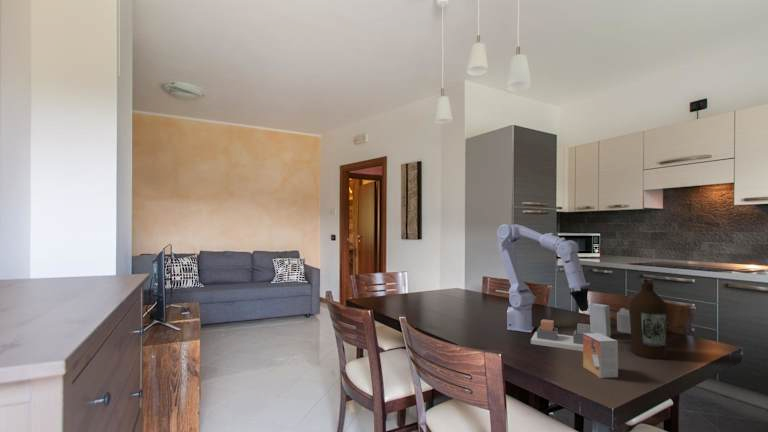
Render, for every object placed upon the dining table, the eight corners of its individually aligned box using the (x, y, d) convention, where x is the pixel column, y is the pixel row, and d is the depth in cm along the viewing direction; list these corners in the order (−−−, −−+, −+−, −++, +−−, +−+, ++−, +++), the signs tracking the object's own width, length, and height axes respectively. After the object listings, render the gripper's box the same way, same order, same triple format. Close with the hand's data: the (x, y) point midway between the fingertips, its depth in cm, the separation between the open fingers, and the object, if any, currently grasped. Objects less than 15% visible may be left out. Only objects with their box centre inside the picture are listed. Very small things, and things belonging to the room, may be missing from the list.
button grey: (577, 335, 133) (577, 325, 133) (577, 332, 136) (577, 323, 136) (590, 337, 131) (589, 327, 131) (590, 334, 134) (590, 324, 134)
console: (530, 343, 137) (530, 331, 137) (535, 335, 147) (535, 323, 147) (600, 353, 126) (600, 340, 126) (600, 343, 136) (600, 331, 136)
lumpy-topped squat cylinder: (614, 330, 153) (613, 309, 153) (625, 325, 161) (625, 304, 161) (644, 336, 145) (643, 314, 145) (654, 330, 153) (653, 308, 153)
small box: (582, 367, 114) (582, 332, 114) (600, 366, 114) (599, 332, 115) (600, 378, 106) (599, 341, 106) (618, 377, 106) (618, 340, 107)
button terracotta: (540, 331, 139) (540, 321, 139) (542, 328, 142) (542, 319, 142) (552, 332, 137) (552, 323, 137) (553, 329, 140) (553, 320, 140)
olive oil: (624, 348, 131) (623, 276, 132) (659, 350, 129) (657, 277, 129) (637, 358, 121) (636, 281, 121) (675, 361, 119) (673, 282, 119)
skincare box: (611, 336, 145) (610, 305, 145) (606, 338, 142) (606, 306, 142) (594, 333, 150) (593, 302, 150) (589, 335, 147) (588, 304, 147)
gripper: (585, 270, 130) (596, 310, 127) (586, 270, 143) (597, 306, 140) (563, 274, 134) (574, 313, 131) (567, 273, 146) (576, 309, 143)
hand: (584, 310), depth 135 cm, fingers open, 7 cm apart
